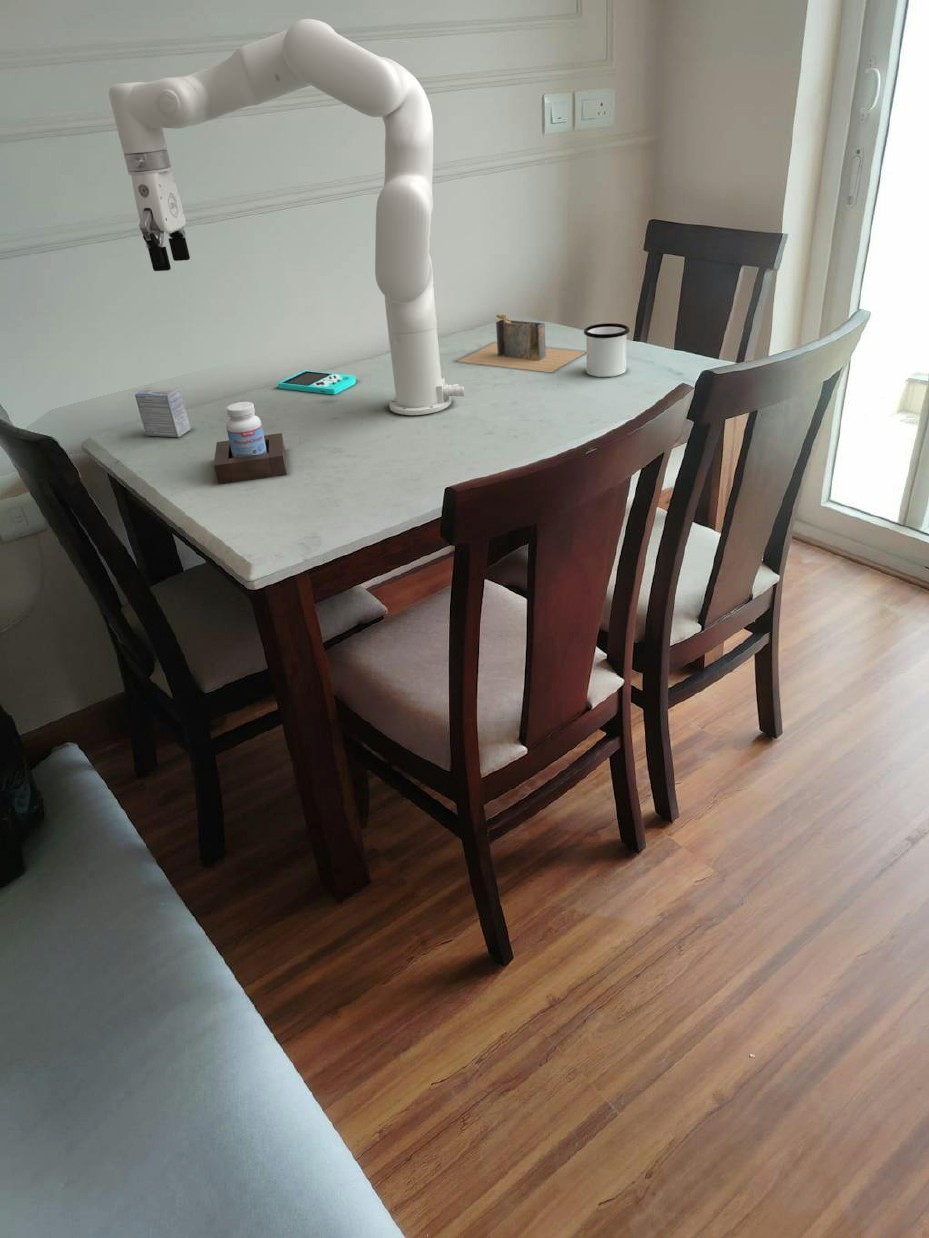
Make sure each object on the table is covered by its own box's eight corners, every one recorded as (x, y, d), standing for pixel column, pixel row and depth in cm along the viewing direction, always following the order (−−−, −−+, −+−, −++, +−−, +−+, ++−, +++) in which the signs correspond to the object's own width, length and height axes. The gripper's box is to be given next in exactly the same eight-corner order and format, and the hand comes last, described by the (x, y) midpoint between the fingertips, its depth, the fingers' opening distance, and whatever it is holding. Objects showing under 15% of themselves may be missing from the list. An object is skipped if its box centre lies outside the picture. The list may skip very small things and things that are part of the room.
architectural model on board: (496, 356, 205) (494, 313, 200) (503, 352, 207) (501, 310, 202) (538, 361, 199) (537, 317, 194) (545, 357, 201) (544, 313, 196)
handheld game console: (333, 395, 190) (332, 388, 189) (276, 388, 197) (275, 382, 196) (360, 381, 197) (360, 375, 196) (304, 375, 204) (303, 369, 204)
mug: (616, 380, 183) (617, 336, 178) (576, 376, 188) (575, 332, 183) (640, 364, 191) (642, 321, 187) (601, 360, 196) (601, 318, 191)
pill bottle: (240, 476, 154) (226, 414, 148) (231, 465, 159) (217, 405, 153) (274, 468, 156) (261, 406, 150) (264, 457, 161) (251, 397, 155)
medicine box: (191, 430, 177) (181, 388, 173) (178, 438, 174) (167, 395, 169) (158, 428, 180) (147, 386, 175) (145, 436, 176) (133, 394, 172)
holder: (285, 450, 163) (281, 432, 161) (286, 474, 153) (282, 455, 152) (220, 460, 162) (216, 441, 160) (218, 484, 152) (213, 465, 150)
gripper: (149, 167, 149) (174, 273, 158) (186, 157, 164) (207, 255, 173) (107, 170, 150) (134, 276, 159) (147, 160, 165) (170, 257, 174)
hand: (172, 265), depth 166 cm, fingers open, 9 cm apart
